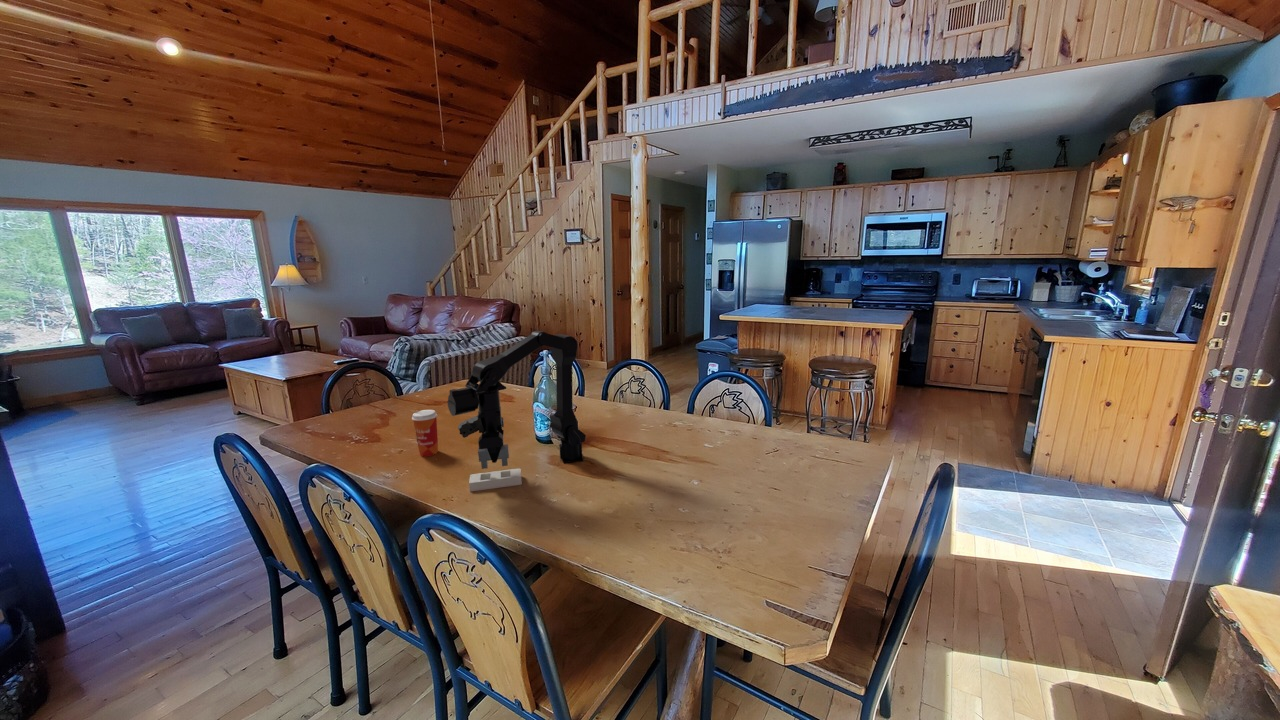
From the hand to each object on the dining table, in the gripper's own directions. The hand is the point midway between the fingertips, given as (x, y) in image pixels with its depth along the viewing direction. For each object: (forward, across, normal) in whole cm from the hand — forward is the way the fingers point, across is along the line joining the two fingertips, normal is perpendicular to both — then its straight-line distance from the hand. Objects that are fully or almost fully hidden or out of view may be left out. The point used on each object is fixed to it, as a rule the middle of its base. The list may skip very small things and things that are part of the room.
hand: (494, 460), depth 137 cm
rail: (+7, 0, 0) cm, 7 cm away
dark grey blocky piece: (+2, 0, 0) cm, 2 cm away
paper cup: (+7, -30, -22) cm, 38 cm away
